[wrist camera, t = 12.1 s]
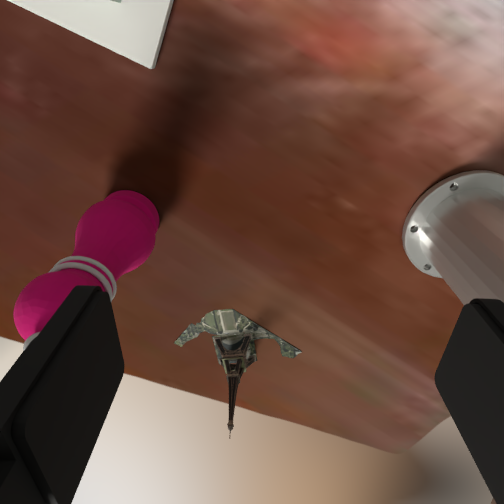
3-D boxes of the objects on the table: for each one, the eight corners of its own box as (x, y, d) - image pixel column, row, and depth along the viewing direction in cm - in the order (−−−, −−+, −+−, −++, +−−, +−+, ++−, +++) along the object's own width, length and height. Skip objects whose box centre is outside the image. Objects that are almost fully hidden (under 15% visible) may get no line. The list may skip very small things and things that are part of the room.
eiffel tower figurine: (303, 348, 50) (318, 441, 38) (258, 386, 54) (259, 480, 42) (215, 294, 45) (201, 382, 34) (172, 341, 49) (147, 433, 38)
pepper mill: (84, 195, 38) (-59, 326, 21) (146, 176, 37) (51, 298, 19) (116, 252, 41) (17, 404, 24) (174, 236, 40) (114, 384, 23)
